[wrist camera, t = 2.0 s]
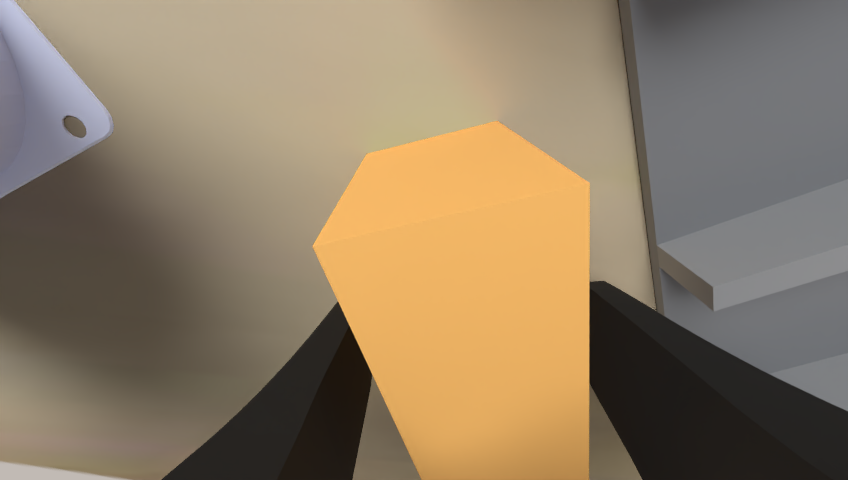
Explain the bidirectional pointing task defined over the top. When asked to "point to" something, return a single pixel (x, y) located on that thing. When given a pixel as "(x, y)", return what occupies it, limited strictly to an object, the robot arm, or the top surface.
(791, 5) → the grey rectangular tray
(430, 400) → the orange rectangular block
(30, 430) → the top surface
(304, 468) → the robot arm
